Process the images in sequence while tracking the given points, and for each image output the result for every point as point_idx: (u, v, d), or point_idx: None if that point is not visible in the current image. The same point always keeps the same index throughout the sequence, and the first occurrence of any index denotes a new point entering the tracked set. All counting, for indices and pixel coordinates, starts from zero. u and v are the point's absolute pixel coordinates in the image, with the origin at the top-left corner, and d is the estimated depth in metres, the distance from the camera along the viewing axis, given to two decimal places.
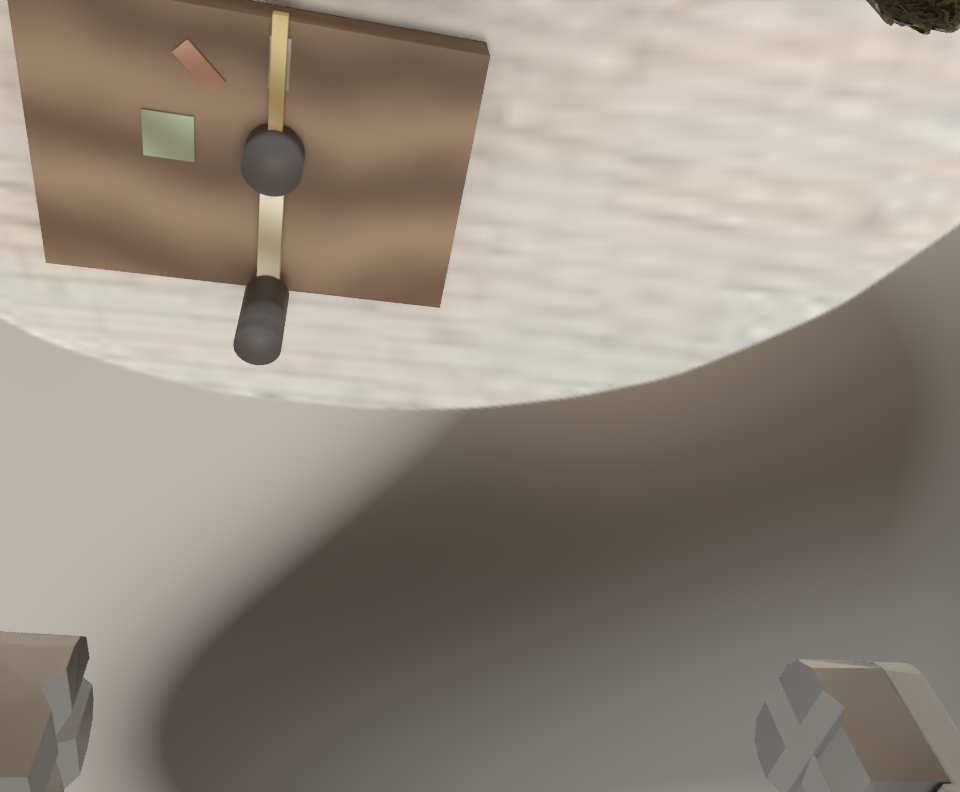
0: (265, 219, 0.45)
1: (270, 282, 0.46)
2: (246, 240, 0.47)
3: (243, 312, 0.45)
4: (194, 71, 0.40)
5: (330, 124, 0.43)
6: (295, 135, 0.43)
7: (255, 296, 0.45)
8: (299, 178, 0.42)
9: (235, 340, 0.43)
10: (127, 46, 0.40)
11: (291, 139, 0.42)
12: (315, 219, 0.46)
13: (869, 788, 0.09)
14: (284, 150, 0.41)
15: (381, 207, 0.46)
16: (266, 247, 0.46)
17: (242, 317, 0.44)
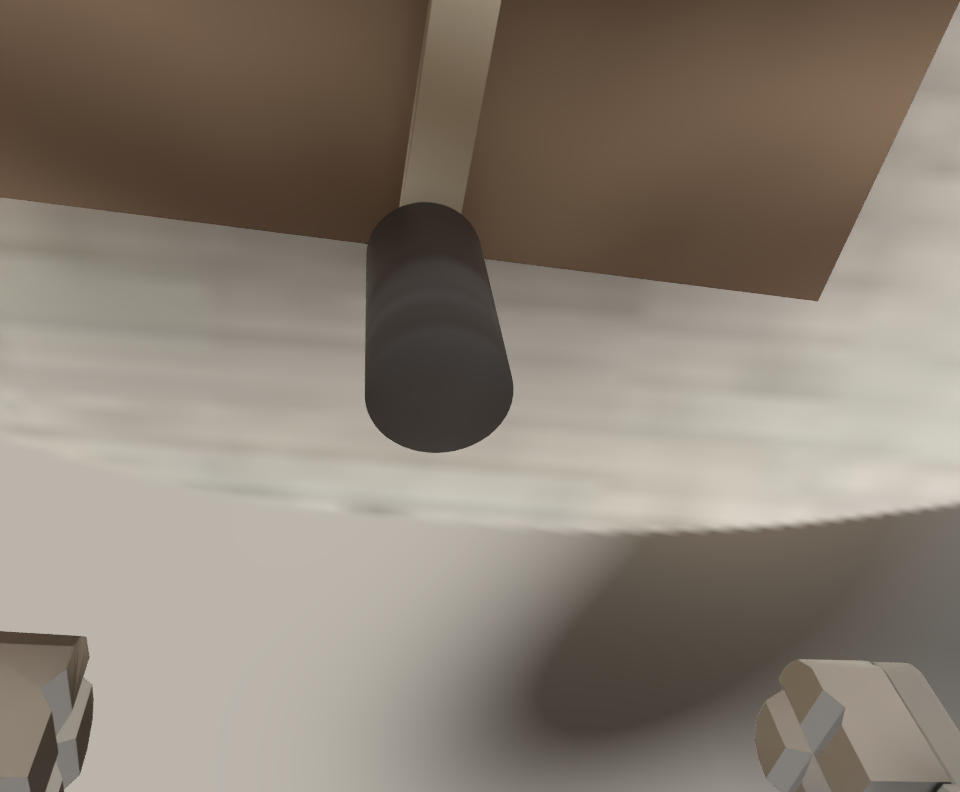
0: (448, 19, 0.15)
1: (444, 218, 0.17)
2: (375, 108, 0.17)
3: (385, 292, 0.15)
4: None
5: None
6: None
7: (415, 248, 0.15)
8: None
9: (373, 375, 0.13)
10: None
11: None
12: (568, 46, 0.17)
13: (869, 788, 0.09)
14: None
15: (752, 8, 0.17)
16: (439, 114, 0.16)
17: (386, 305, 0.14)
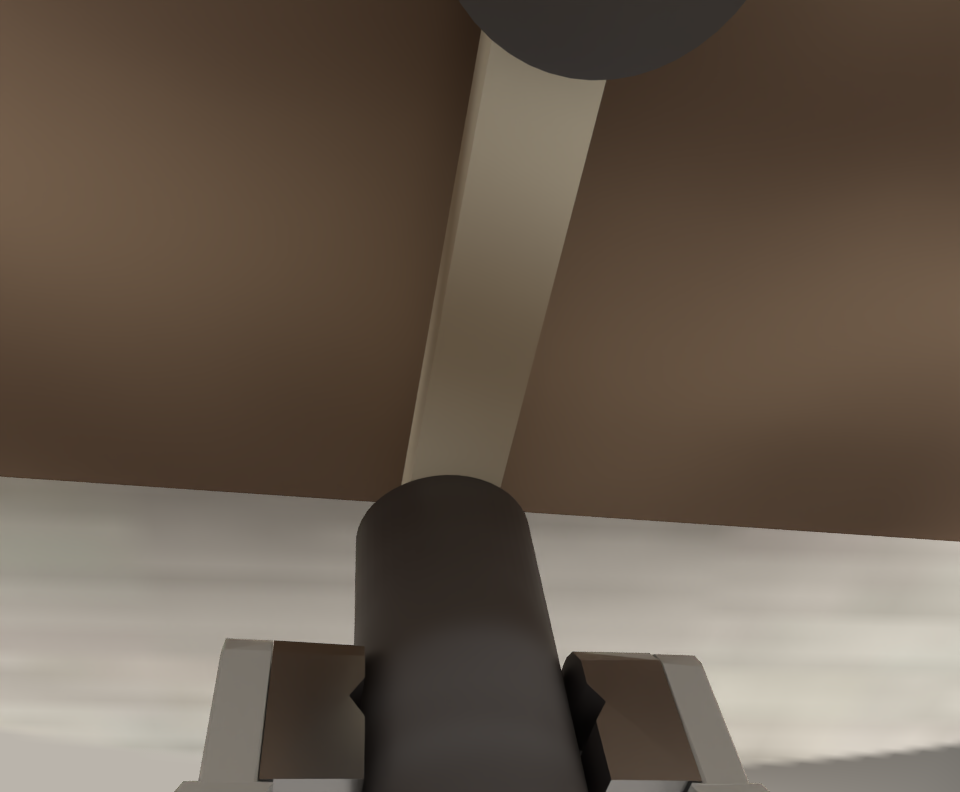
0: (488, 228, 0.09)
1: (477, 510, 0.11)
2: (368, 329, 0.11)
3: (386, 701, 0.09)
4: None
5: None
6: None
7: (433, 595, 0.09)
8: None
9: None
10: None
11: None
12: (666, 238, 0.11)
13: (611, 788, 0.08)
14: None
15: (949, 179, 0.11)
16: (471, 360, 0.10)
17: (388, 742, 0.08)
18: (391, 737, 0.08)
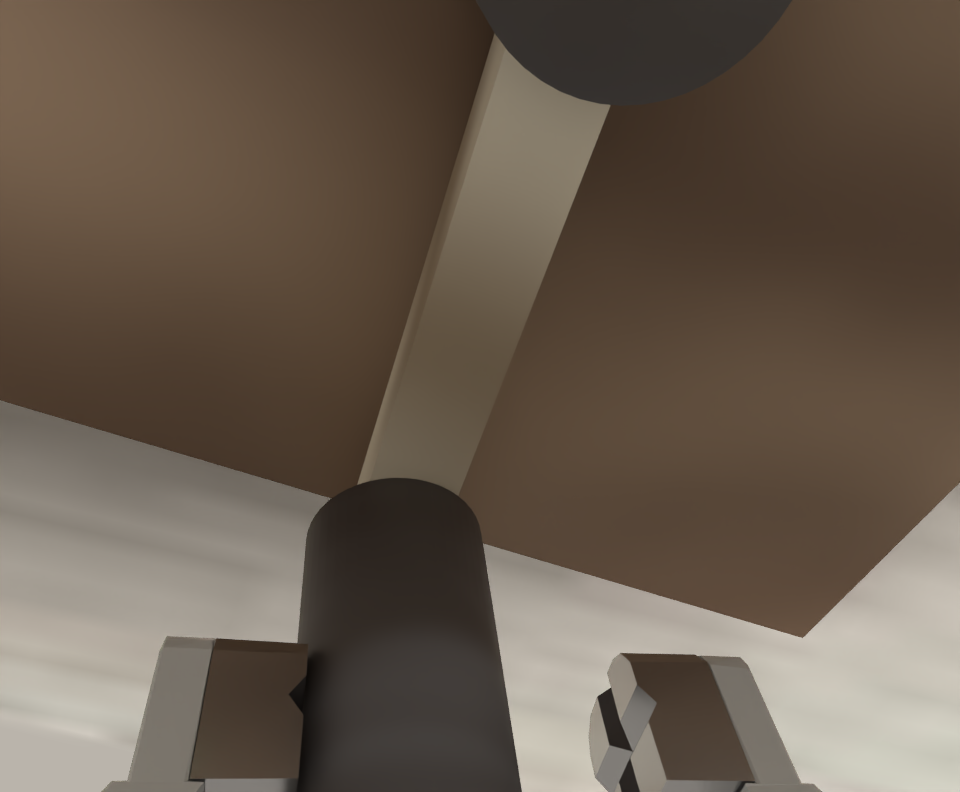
0: (478, 236, 0.09)
1: (434, 516, 0.11)
2: (277, 289, 0.11)
3: (330, 700, 0.08)
4: None
5: None
6: None
7: (386, 597, 0.09)
8: (777, 6, 0.07)
9: None
10: None
11: None
12: (591, 277, 0.11)
13: (666, 787, 0.08)
14: None
15: (851, 292, 0.12)
16: (444, 366, 0.10)
17: (329, 742, 0.08)
18: (333, 737, 0.08)
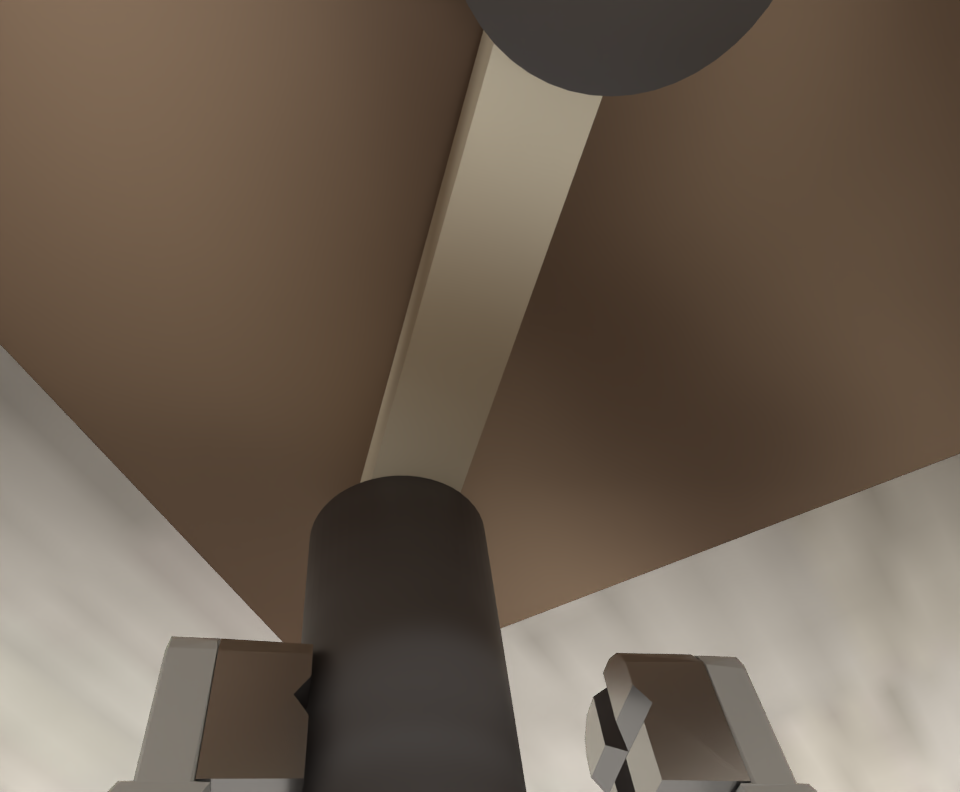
0: (472, 232, 0.09)
1: (436, 513, 0.11)
2: (32, 5, 0.09)
3: (332, 699, 0.08)
4: None
5: (802, 52, 0.10)
6: None
7: (388, 595, 0.09)
8: None
9: None
10: None
11: None
12: (360, 229, 0.10)
13: (661, 788, 0.08)
14: None
15: (558, 393, 0.12)
16: (442, 363, 0.10)
17: (330, 741, 0.08)
18: (334, 736, 0.08)
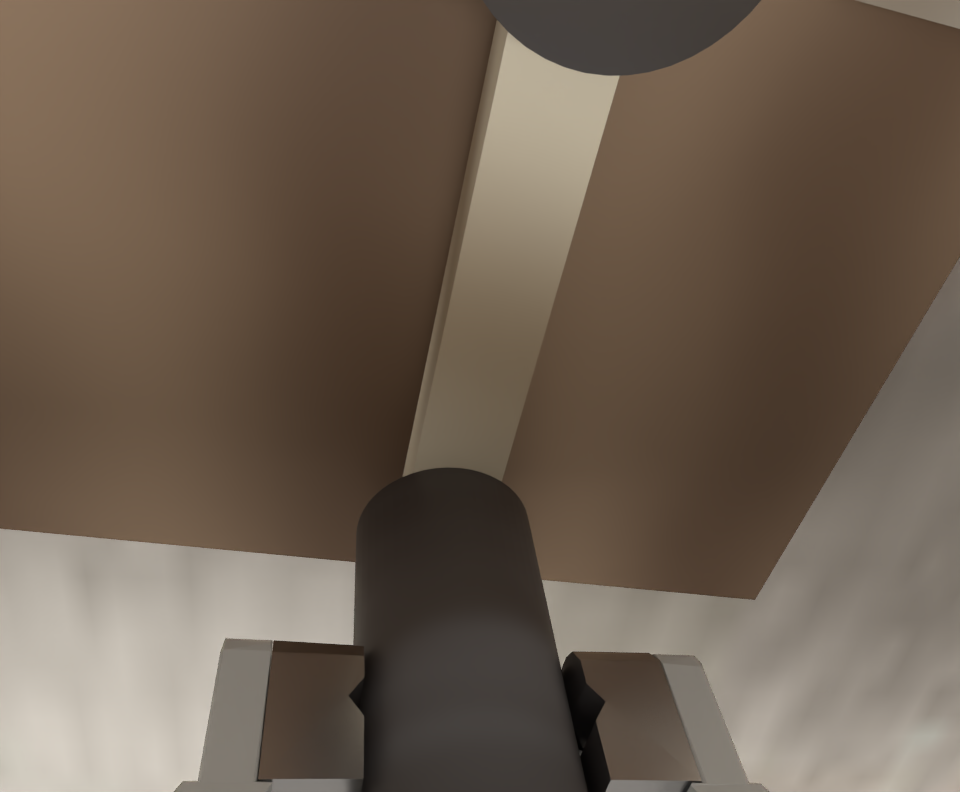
0: (498, 221, 0.09)
1: (478, 503, 0.11)
2: None
3: (386, 689, 0.09)
4: None
5: (656, 155, 0.10)
6: None
7: (435, 585, 0.09)
8: None
9: None
10: None
11: None
12: (185, 20, 0.09)
13: (611, 787, 0.08)
14: None
15: (277, 321, 0.11)
16: (476, 353, 0.10)
17: (388, 730, 0.08)
18: (391, 724, 0.08)
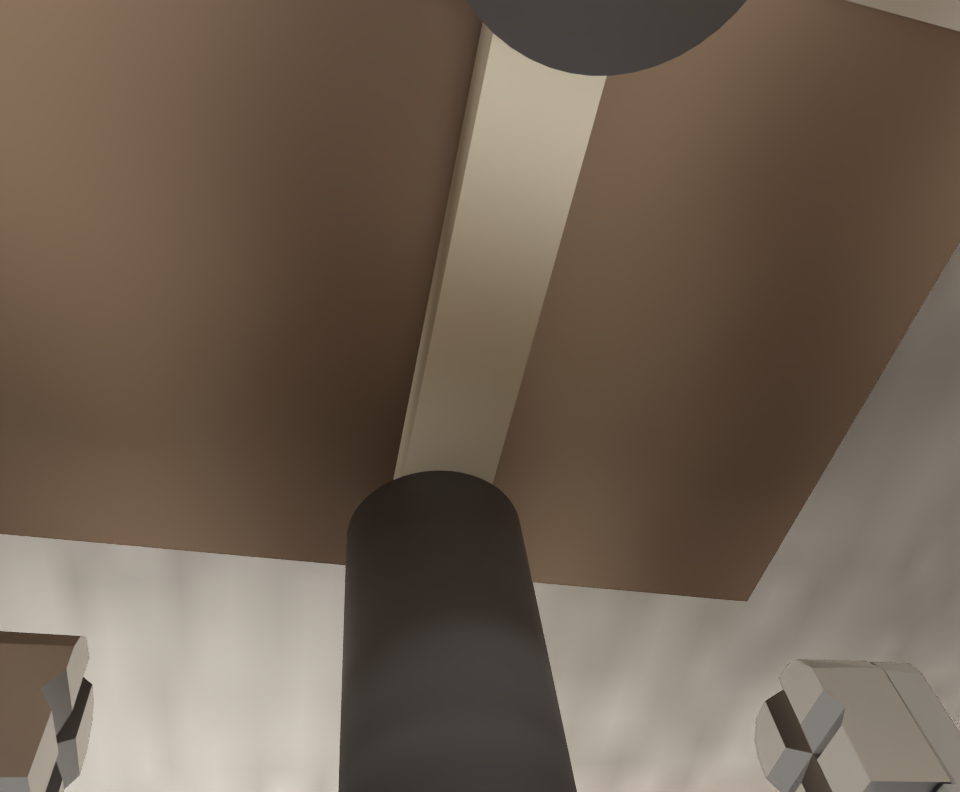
0: (485, 223, 0.09)
1: (469, 506, 0.11)
2: None
3: (375, 695, 0.09)
4: None
5: (644, 156, 0.10)
6: None
7: (424, 590, 0.09)
8: None
9: None
10: None
11: None
12: (169, 20, 0.09)
13: (869, 788, 0.09)
14: None
15: (264, 323, 0.11)
16: (465, 356, 0.10)
17: (376, 736, 0.08)
18: (379, 731, 0.08)
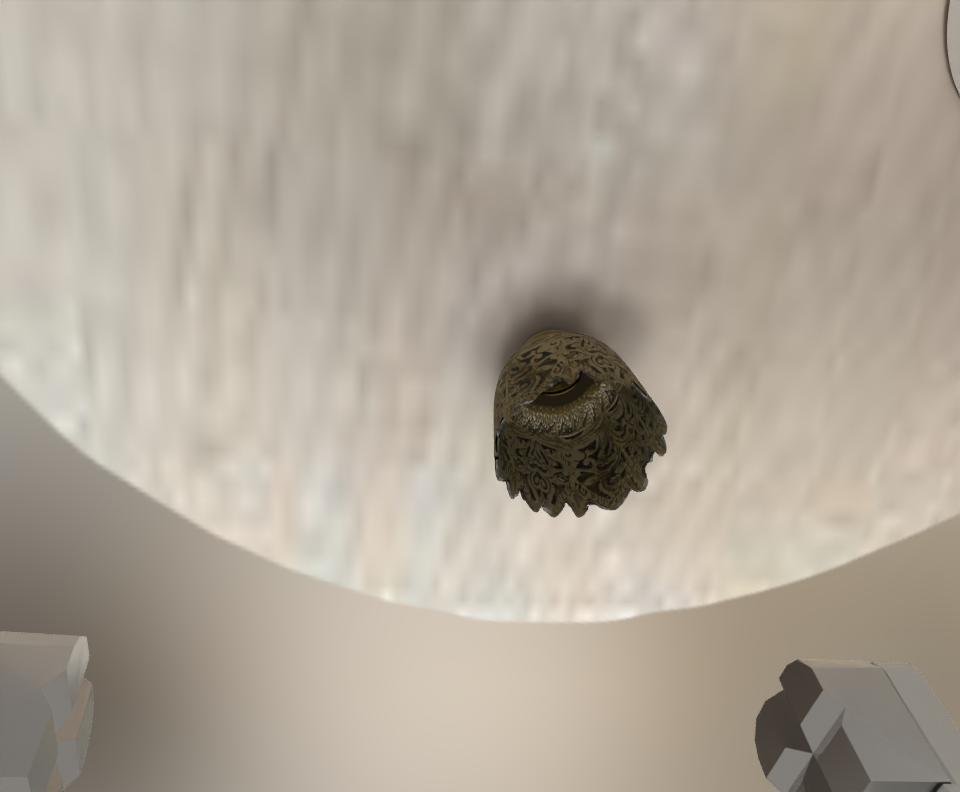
0: None
1: None
2: None
3: None
4: None
5: None
6: None
7: None
8: None
9: None
10: None
11: None
12: None
13: (869, 788, 0.09)
14: None
15: None
16: None
17: None
18: None
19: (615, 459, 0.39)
